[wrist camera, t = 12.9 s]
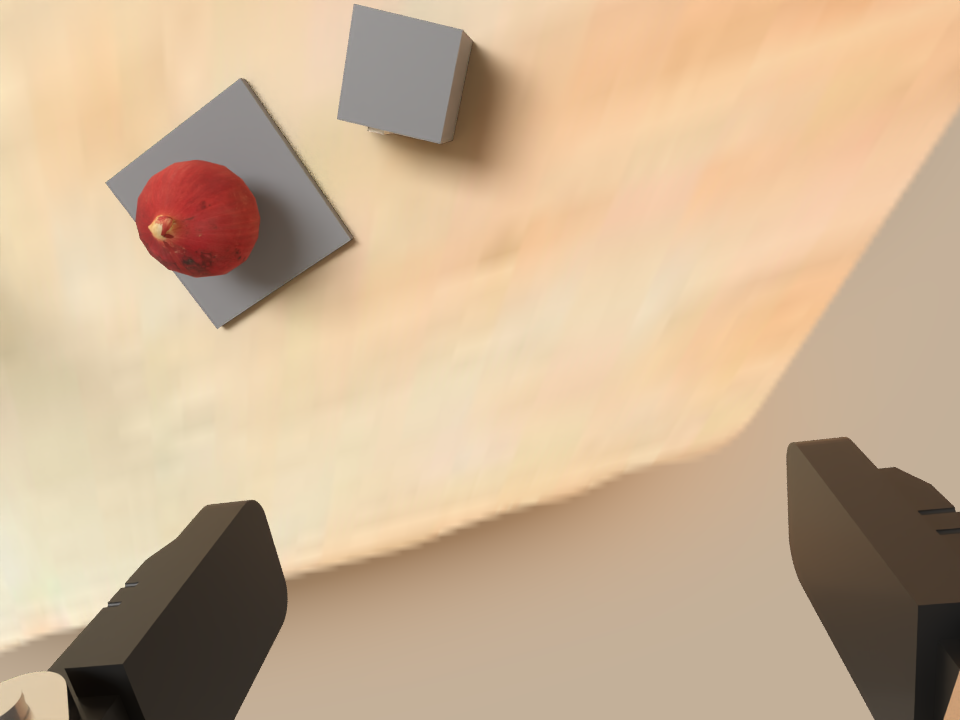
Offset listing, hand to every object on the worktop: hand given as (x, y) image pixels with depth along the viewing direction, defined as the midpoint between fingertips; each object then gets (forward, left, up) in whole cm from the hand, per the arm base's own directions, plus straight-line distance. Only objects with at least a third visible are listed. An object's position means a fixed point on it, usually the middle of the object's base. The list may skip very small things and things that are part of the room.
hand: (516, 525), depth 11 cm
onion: (+14, -10, -30) cm, 34 cm away
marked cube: (+1, -10, -30) cm, 32 cm away
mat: (+14, -10, -30) cm, 35 cm away
